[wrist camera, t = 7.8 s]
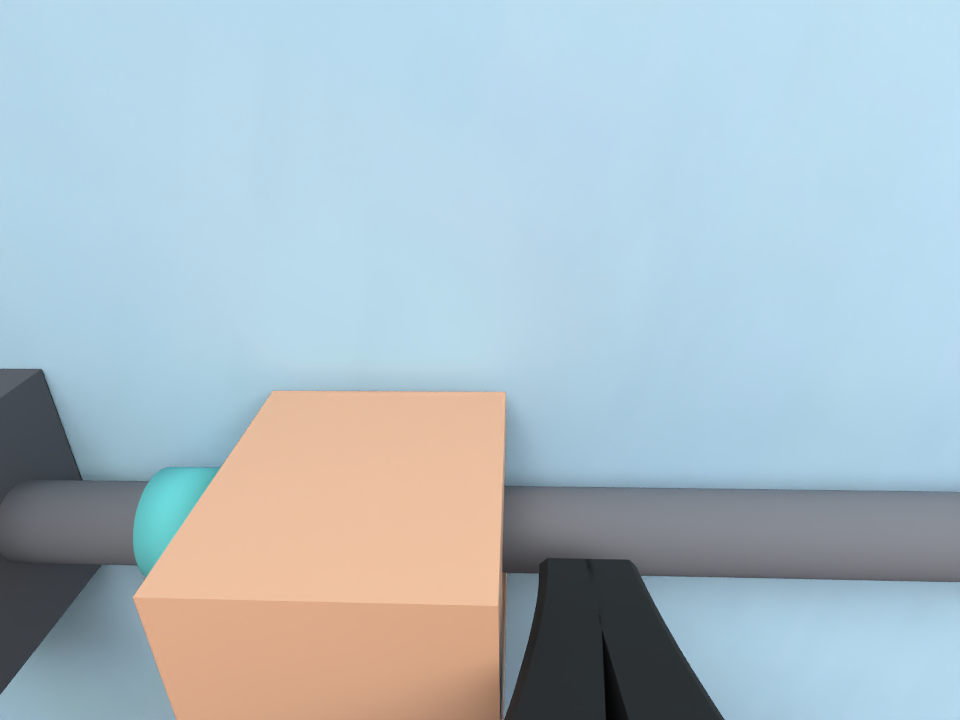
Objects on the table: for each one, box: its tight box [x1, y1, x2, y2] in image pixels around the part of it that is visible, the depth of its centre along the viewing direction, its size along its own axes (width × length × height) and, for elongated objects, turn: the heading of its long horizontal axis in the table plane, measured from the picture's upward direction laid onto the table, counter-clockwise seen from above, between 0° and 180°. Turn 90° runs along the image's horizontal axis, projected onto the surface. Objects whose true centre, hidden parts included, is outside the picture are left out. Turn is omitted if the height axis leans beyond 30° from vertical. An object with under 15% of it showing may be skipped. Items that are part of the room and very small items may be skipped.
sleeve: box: [133, 391, 507, 720], centre depth 10 cm, size 4×4×5 cm
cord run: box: [0, 369, 960, 694], centre depth 10 cm, size 36×7×4 cm, turn 91°
